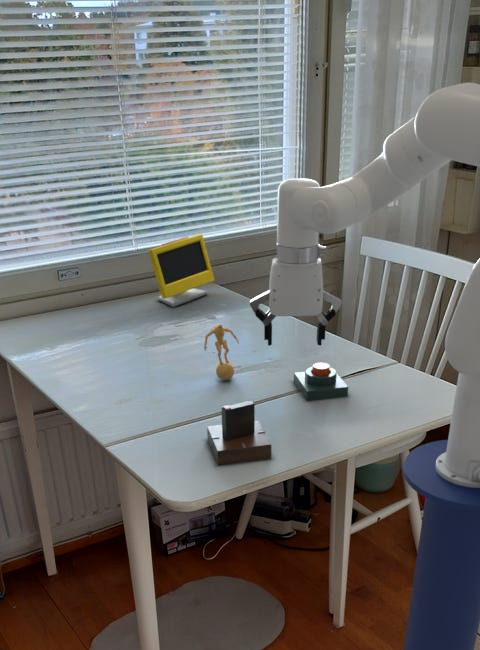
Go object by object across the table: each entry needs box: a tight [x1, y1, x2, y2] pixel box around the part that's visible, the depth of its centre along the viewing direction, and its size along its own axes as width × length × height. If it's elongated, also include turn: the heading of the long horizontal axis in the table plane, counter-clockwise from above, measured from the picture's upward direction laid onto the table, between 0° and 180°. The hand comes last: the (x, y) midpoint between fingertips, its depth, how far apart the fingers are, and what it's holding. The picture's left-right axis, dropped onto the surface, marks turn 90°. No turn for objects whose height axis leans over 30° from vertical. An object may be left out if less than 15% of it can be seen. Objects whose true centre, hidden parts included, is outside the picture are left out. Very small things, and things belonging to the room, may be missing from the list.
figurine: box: [203, 324, 240, 381], centre depth 171 cm, size 8×6×12 cm
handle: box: [221, 400, 256, 440], centre depth 143 cm, size 6×2×6 cm, turn 118°
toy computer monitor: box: [148, 233, 215, 308], centre depth 215 cm, size 20×8×16 cm, turn 140°
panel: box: [206, 420, 272, 466], centre depth 146 cm, size 10×10×3 cm
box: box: [293, 365, 349, 402], centre depth 167 cm, size 10×9×4 cm
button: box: [312, 362, 331, 376], centre depth 166 cm, size 4×4×2 cm
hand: (294, 343), depth 153 cm, fingers open, 9 cm apart
